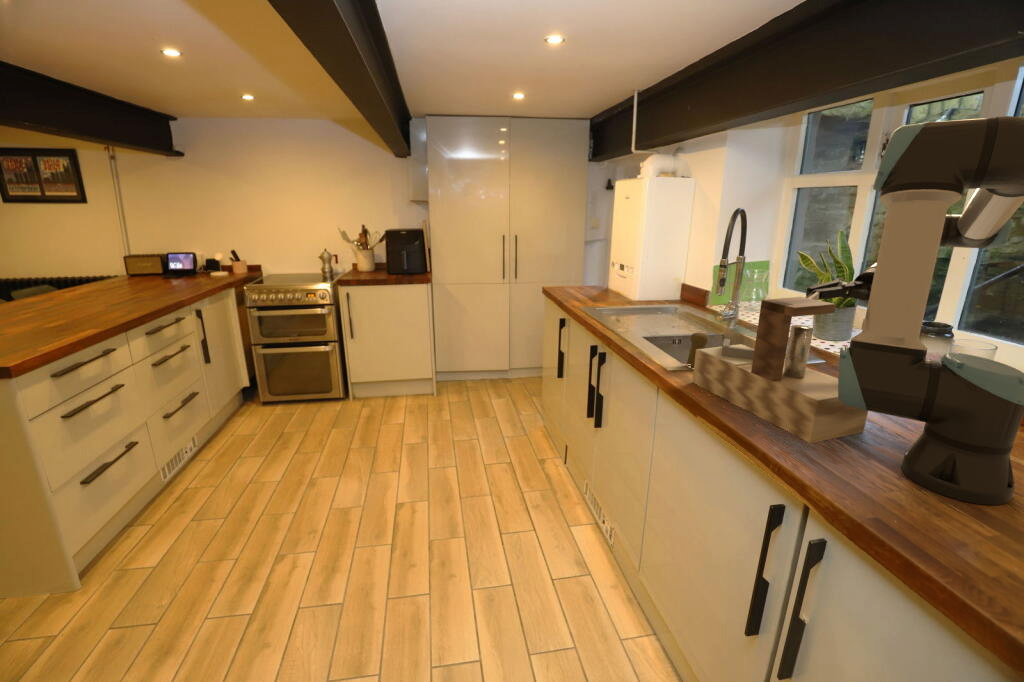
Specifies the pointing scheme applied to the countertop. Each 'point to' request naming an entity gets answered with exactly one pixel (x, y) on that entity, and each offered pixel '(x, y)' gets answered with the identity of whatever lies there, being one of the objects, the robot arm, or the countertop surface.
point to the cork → (696, 346)
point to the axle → (798, 351)
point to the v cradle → (731, 353)
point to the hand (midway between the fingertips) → (831, 316)
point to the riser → (783, 398)
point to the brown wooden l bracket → (780, 332)
